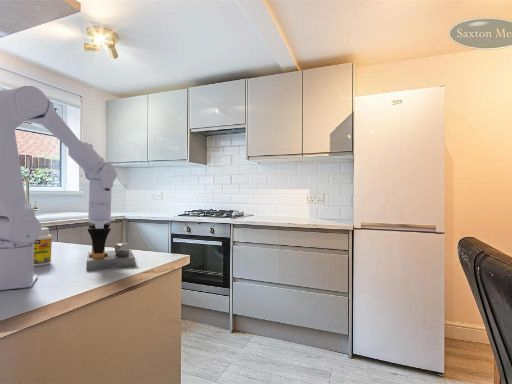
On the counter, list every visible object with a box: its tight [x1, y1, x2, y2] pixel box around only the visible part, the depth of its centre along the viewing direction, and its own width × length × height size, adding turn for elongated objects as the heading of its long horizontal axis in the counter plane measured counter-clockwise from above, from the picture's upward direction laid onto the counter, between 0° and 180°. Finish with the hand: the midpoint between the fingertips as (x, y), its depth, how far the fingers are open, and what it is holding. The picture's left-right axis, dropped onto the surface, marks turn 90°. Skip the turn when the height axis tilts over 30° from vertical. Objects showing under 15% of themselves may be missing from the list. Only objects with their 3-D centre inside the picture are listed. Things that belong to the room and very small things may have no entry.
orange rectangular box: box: [91, 243, 106, 258], centre depth 84 cm, size 3×3×7 cm
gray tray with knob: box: [85, 242, 136, 271], centre depth 85 cm, size 12×12×6 cm
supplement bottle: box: [33, 227, 53, 267], centre depth 82 cm, size 6×6×10 cm
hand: (98, 250), depth 84 cm, fingers open, 7 cm apart
